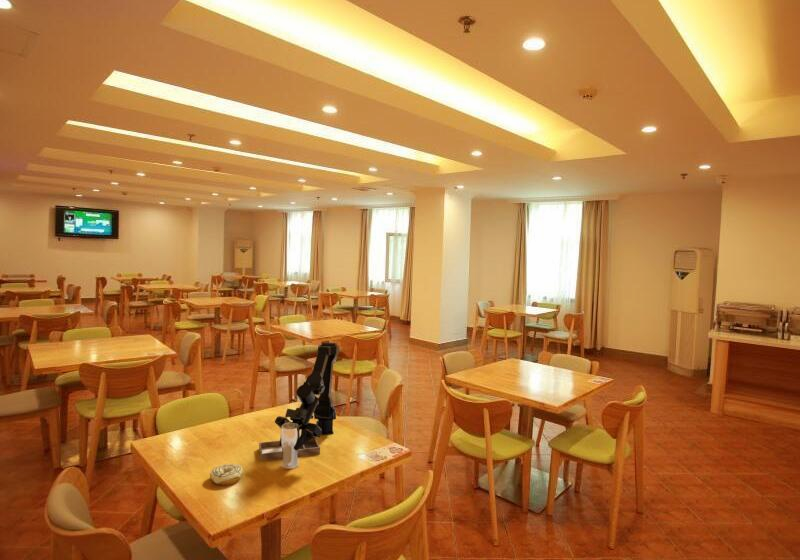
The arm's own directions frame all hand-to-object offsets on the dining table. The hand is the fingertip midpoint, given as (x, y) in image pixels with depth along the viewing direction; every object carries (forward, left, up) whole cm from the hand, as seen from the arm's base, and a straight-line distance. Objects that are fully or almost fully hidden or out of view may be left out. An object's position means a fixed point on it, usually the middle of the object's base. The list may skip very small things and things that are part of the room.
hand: (287, 448), depth 169 cm
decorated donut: (+21, +3, -8) cm, 22 cm away
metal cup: (-1, -1, -7) cm, 7 cm away
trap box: (-2, -13, -7) cm, 15 cm away
